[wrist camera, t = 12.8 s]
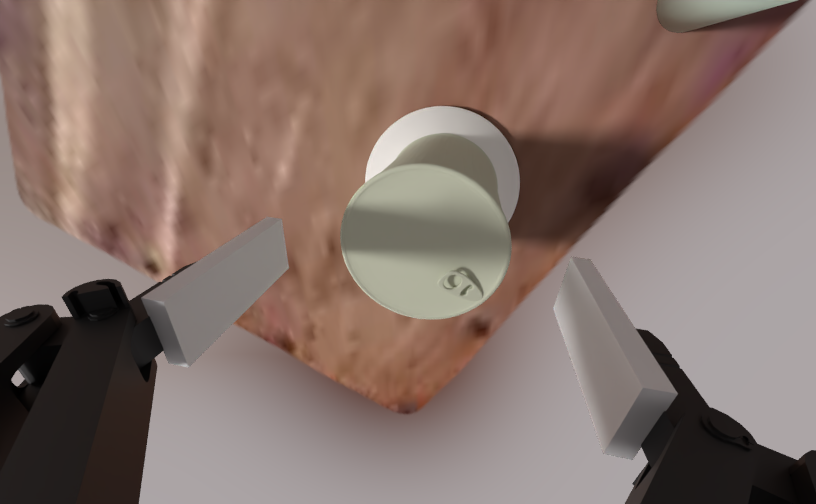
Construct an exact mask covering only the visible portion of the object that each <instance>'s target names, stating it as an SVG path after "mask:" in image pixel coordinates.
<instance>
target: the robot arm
mask: <svg viewBox="0 0 816 504" xmlns="http://www.w3.org/2000/svg"><path fill="white" fill-rule="evenodd" d="M288 268H289V266H288V259H287V252H286V245H285V238H284V232H283V225H282V219H279V218H271V217H266V218H264V219H263V220H261V221H260V222H258V223H257V224H255V225H254V226H252V227H250V228H249V229H247V230H246V231H244V232H243V233H241V234H239V235H238V236H236V237H235V238H233V239H232V240H230V241H229V242H227V243H225V244H224V245H222V246H221V247H219V248H218V249H216V250H215V251H213V252H211V253H210V254H208V255H207V256H205V257H204V258H202V259H201V260H199V261H197V262H195V263H192V264H190V265H187V266H185V267H183V268H181V269H179V270H178V271H176V272H175V273H173V274H172V276H168V277H167V278H165V279H163V280H162V282H159V283H157V284H156V285H154V286H152V287H151V288H149V289H148V290H146V291H144V292H143V293H141V294H140V295H138V296H136V297H135V298H133V299H132V300H130V301H129V300H128V298H127V296H126V294H125V292H124V289H123V287H122V285H121V283H120V282H119V281H117V280H114V279H103V280H96V281H92V282H88V283H84V284H82V285H79V286H77V287H75V288H73V289H71V290H70V291H68V292H66V293H65V294H64V295H63V297H62V299H63V300H64V302H65V304H66V306H67V307H68V309H69V311H70V313H71V314H72V316H73V317H61V318H60V317H59V316H58V315H57V313H56V311H55V310H54V308H53V306H49V305H33V306H26V307H22V308H21V309H20V308H18V309H15V310H13V311H11V312H10V313H7V314H5V315H3V316H1V317H0V504H139V497H140V489H141V481H142V475H143V467H144V460H145V452H146V445H147V438H148V430H149V423H150V416H151V409H152V401H153V394H154V386H155V379H156V371H157V363H156V361H155V357H156V356H157V355H158V354H160V353H161V352H162V351H164V353H165V356H166V358H167V361H168V363H169V364H174V365H179V366H184V367H190V366H191V365H192V364H193V363H194V362H195V361H196V360H197V359H198V358H199V357H200V356H201V355H202V354H203V353H204V352H205V351H206V350H207V349H208V348H209V347H210V346H211V345H212V344H213V343H214V342H215V341H216V340H217V339H218V338H219V337H220V336H221V335H222V334H223V333H224V332H225V331H226V330H227V329H228V328H229V327H230V326H231V325H232V324H233V323H234V322H235V321H236V320H237V319H238V318H239V317H240V316H241V315H242V314H243V313H244V312H245V311H246V310H247V309H248V308H249V307H250V306H251V305H252V304H253V303H254V302H255V301H256V300H257V299H258V298H259V297H260V296H261V295H262V294H263V293H264V292H265V291H266V290H267V289H268V288H269V287H270V286H271V285H272V284H273V283H274V282H275V281H276V280H277V279H278V278H279V277H280V276H281V275H282V274H283V273H284V272H285V271H286V270H287V269H288ZM553 309H554V312H555V315H556V318H557V321H558V324H559V327H560V330H561V333H562V336H563V338H564V341H565V344H566V347H567V350H568V353H569V356H570V359H571V362H572V365H573V368H574V371H575V374H576V376H577V379H578V382H579V385H580V388H581V391H582V394H583V397H584V399H585V402H586V405H587V408H588V411H589V414H590V417H591V420H592V423H593V426H594V429H595V432H596V434H597V437H598V440H599V443H600V446H601V449H602V452H603V454H607V455H612V456H616V457H621V458H626V459H631V460H633V458H634V457H635V455H636V454H637V453H638V451H639V450H640V448H641V447H642V449H643V451H644V453H645V456H646V458H647V460H648V463H647V465H646V466H645V467H644V469H643V470H642V471H641V473H640V474H639V475H638V477H637V478H636V480H635V481H634V482H633V485H634V487H633V489H632V491H631V493H630V495H629V497H628V499H627V501H626V502H625V504H816V451H814V450H811V451H809V452H807V453H806V454H804V455H803V456H802V457H801V458H800V459H799V460H796V459H793V458H791V457H788V456H786V455H783V454H781V453H779V452H776V451H774V450H771V449H769V448H766V447H764V446H761V445H759V444H757V443H756V441H755V439H754V438H753V436H752V435H751V434H750V433H749V432H748V431H747V430H746V429H745V428H744V427H743V426H742V425H741V424H740V423H738V422H737V421H735V420H734V419H732V418H731V417H729V416H728V415H726V414H724V413H722V412H720V411H718V410H716V409H714V408H710V407H709V406H708V405H707V403H706V402H705V401H704V399H703V398H702V397H701V395H700V394H699V392H698V391H697V389H696V388H695V387H694V385H693V384H692V382H691V381H690V380H689V378H688V377H687V376H686V374H685V373H684V371H683V370H682V369H680V368H679V365H678V363H677V362H676V361H675V359H674V358H672V355H671V354H670V352H669V351H668V349H667V348H666V346H665V345H664V344H663V342H661V341H660V340H659V339H658V338H656V337H655V336H654V335H653V334H652V333H650V332H649V331H647V330H641V329H635V327H634V326H633V324H632V323H631V321H630V319H629V318H628V316H627V315H626V313H625V312H624V310H623V309H622V307H621V306H620V304H619V303H618V301H617V300H616V298H615V296H614V295H613V293H612V292H611V290H610V289H609V287H608V286H607V284H606V283H605V281H604V280H603V278H602V277H601V275H600V273H599V272H598V271H597V269H596V267H595V266H594V264H593V263H592V261H591V260H590V259H584V258H576V257H571V258H570V261H569V264H568V267H567V270H566V273H565V276H564V279H563V281H562V284H561V287H560V290H559V293H558V296H557V299H556V302H555V305H554V308H553ZM17 370H19V371H20V373H21V374H22V376H23V377H24V378H25V380H24V381H23V382H22V383H21V384H20V385H19V386H18V387H17V386H15V385H14V384H13V383H12V381H11V378H12V377H13V375H14V374H15V372H16V371H17Z"/></svg>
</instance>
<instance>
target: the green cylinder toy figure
mask: <svg viewBox="0 0 816 504" xmlns="http://www.w3.org/2000/svg"><path fill="white" fill-rule="evenodd" d="M340 239H341V248H342V254H343V257H344V260H345V263H346V266H347V268H348V270H349V272H350V274H351V275H352V277H353V279H354V280H355V282H356V283H357V284H358V285H359V287H360V288H361V289H362V290H363V291H364V292H365V293H366V294H367V295H368V296H369V297H370V298H372V299H373V300H374V301H376V302H377V303H379V304H380V305H382V306H383V307H385V308H387V309H389V310H391V311H393V312H396V313H398V314H401V315H404V316H408V317H412V318H418V319H444V318H450V317H454V316H458V315H461V314H463V313H466V312H468V311H470V310H472V309H474V308H476V307H477V306H479V305H480V304H482V303H483V302H485V301H486V300H487V299H488V298H489V297H490V296H491V295H492V294H493V293H494V292H495V291H496V289H497V288H498V287H499V285H500V284H501V282H502V280H503V278H504V276H505V274H506V272H507V269H508V266H509V263H510V257H511V234H510V229H509V225H508V222H507V219H506V217H505V215H504V212H503V211H502V207H501V203H500V199H499V195H498V182H497V176H496V172H495V169H494V167H493V164H492V162H491V161H490V159H489V157H488V156H487V155H486V154H485V152H484V151H483V150H482V149H481V148H480V147H479V146H477V145H476V144H475V143H473V142H472V141H470V140H468V139H466V138H464V137H461V136H458V135H454V134H447V133H439V134H431V135H427V136H424V137H421V138H419V139H417V140H415V141H413V142H412V143H410V144H409V145H408V146H406V147H405V148H404V149H403V150H402V151H401V152H400V154H399V155H398V156H397V158H396V159H395V160H394V161H393V162H392V163H391V164H390V165H389V166H388V167H386V168H385V169H384V170H383V171H382V172H380V173H379V174H377V175H375V176H374V177H372V178H371V179H369V180H368V181H367V182H366V183H365V184H363V185H362V186H361V187H360V188H359V189H358V191H357V192H356V193H355V194H354V196H353V197H352V199H351V200H350V202H349V204H348V206H347V208H346V210H345V213H344V216H343V220H342V225H341V235H340Z"/></svg>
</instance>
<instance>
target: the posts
mask: <svg viewBox="0 0 816 504" xmlns="http://www.w3.org/2000/svg"><path fill="white" fill-rule="evenodd" d="M794 1H797V0H658V1H657V17H658V20H659V22H660V24H661V25H662V26H663V27H664V28H665V29H667V30H668V31H671V32H676V33H682V32H687V31H691V30H694V29H698V28H702V27H705V26H709V25H712V24H716V23H719V22H723V21H726V20H730V19H733V18H737V17H741V16H744V15H748V14H751V13H755V12H758V11H762V10H765V9H769V8H772V7H776V6H780V5H783V4H787V3H790V2H794Z"/></svg>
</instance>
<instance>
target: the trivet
mask: <svg viewBox="0 0 816 504" xmlns="http://www.w3.org/2000/svg"><path fill="white" fill-rule="evenodd" d="M439 133H447V134H454V135H458V136H461V137H464V138H466V139H468V140H470V141H472V142H473V143H475V144H476V145H477V146H479V147H480V148H481V149H482V150H483V151H484V152H485V154H486V155H487V156H488V157H489V159H490V161H491V162H492V164H493V167H494V169H495V172H496V176H497V182H498V195H499V199H500V203H501V207H502V211H503V212H504V215H505V217H506V219H507V222H509V221H510V219H511V217H512V215H513V213H514V210H515V208H516V205H517V201H518V197H519V190H520V175H519V168H518V164H517V160H516V157H515V155H514V152H513V150H512V148H511V146H510V144H509V143H508V141H507V140H506V138H505V137H504V136H503V134H502V133H501V132H500V131H499V130H498V129H497V128H496V127H495V126H494V125H493V124H492V123H491V122H490V121H488V120H487V119H485V118H483V117H482V116H480V115H478V114H476V113H474V112H472V111H469V110H466V109H463V108H459V107H452V106H434V107H427V108H424V109H420V110H417V111H414V112H412V113H410V114H408V115H405V116H404V117H402V118H401V119H399V120H397V121H396V122H395V123H394V124H392V125H391V126H390V127H389V128H388V129H387V130H386V131H385V132H384V133H383V134H382V136H381V137H380V138H379V140H378V141H377V143H376V144H375V146H374V148H373V150H372V152H371V155H370V158H369V161H368V164H367V169H366V178H365V183H366V182H367V181H368V180H369V179H371V178H372V177H374V176H375V175H377V174H379V173H380V172H382V171H383V170H384V169H385V168H386V167H388V166H389V165H390V164H391V163H392V162H393V161H394V160H395V159H396V158H397V156H398V155H399V154H400V152H401V151H402V150H403V149H404V148H405V147H406V146H408V145H409V144H410V143H412V142H413V141H415V140H417V139H419V138H421V137H424V136H427V135H431V134H439Z"/></svg>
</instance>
